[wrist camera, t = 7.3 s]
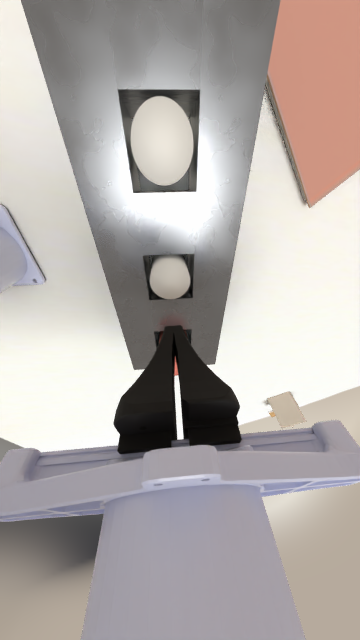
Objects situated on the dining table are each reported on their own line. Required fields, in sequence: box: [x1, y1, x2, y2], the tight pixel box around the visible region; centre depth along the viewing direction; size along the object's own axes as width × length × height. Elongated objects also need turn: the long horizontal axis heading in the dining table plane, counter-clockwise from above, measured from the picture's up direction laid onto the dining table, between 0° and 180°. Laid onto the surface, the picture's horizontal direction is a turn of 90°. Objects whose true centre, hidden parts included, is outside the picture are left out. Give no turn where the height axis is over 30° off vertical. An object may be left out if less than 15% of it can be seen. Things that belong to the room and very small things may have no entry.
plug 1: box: [131, 96, 193, 186], centre depth 12 cm, size 4×4×5 cm
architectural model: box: [267, 392, 306, 428], centre depth 42 cm, size 3×7×7 cm, turn 122°
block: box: [21, 0, 280, 370], centre depth 18 cm, size 12×28×5 cm, turn 1°
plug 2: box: [150, 254, 190, 299], centre depth 18 cm, size 4×4×5 cm
